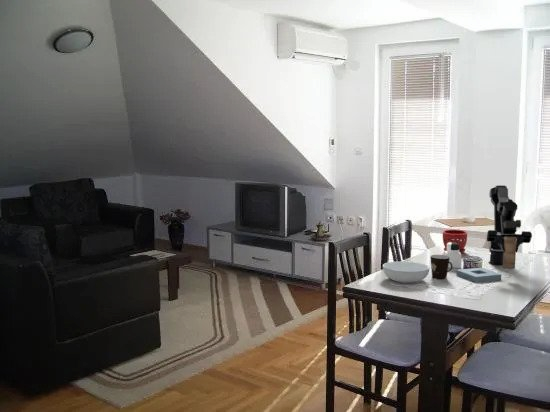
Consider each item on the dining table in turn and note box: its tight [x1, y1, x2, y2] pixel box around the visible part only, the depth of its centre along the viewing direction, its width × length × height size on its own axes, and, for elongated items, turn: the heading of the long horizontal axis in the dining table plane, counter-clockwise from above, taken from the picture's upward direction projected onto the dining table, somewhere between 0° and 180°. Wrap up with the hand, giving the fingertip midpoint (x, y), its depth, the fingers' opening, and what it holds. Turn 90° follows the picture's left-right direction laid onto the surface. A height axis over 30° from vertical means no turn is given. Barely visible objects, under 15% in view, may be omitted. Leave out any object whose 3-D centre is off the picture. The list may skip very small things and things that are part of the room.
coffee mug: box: [430, 254, 453, 280], centre depth 263 cm, size 12×9×10 cm
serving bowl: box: [382, 261, 431, 284], centre depth 260 cm, size 21×21×7 cm
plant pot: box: [442, 229, 468, 254], centre depth 320 cm, size 13×13×12 cm
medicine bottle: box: [443, 242, 463, 269], centre depth 287 cm, size 7×7×12 cm
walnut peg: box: [502, 236, 517, 270], centre depth 259 cm, size 5×5×14 cm
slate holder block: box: [456, 267, 502, 283], centre depth 265 cm, size 14×14×2 cm
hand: (510, 251), depth 257 cm, fingers closed on walnut peg, 5 cm apart
